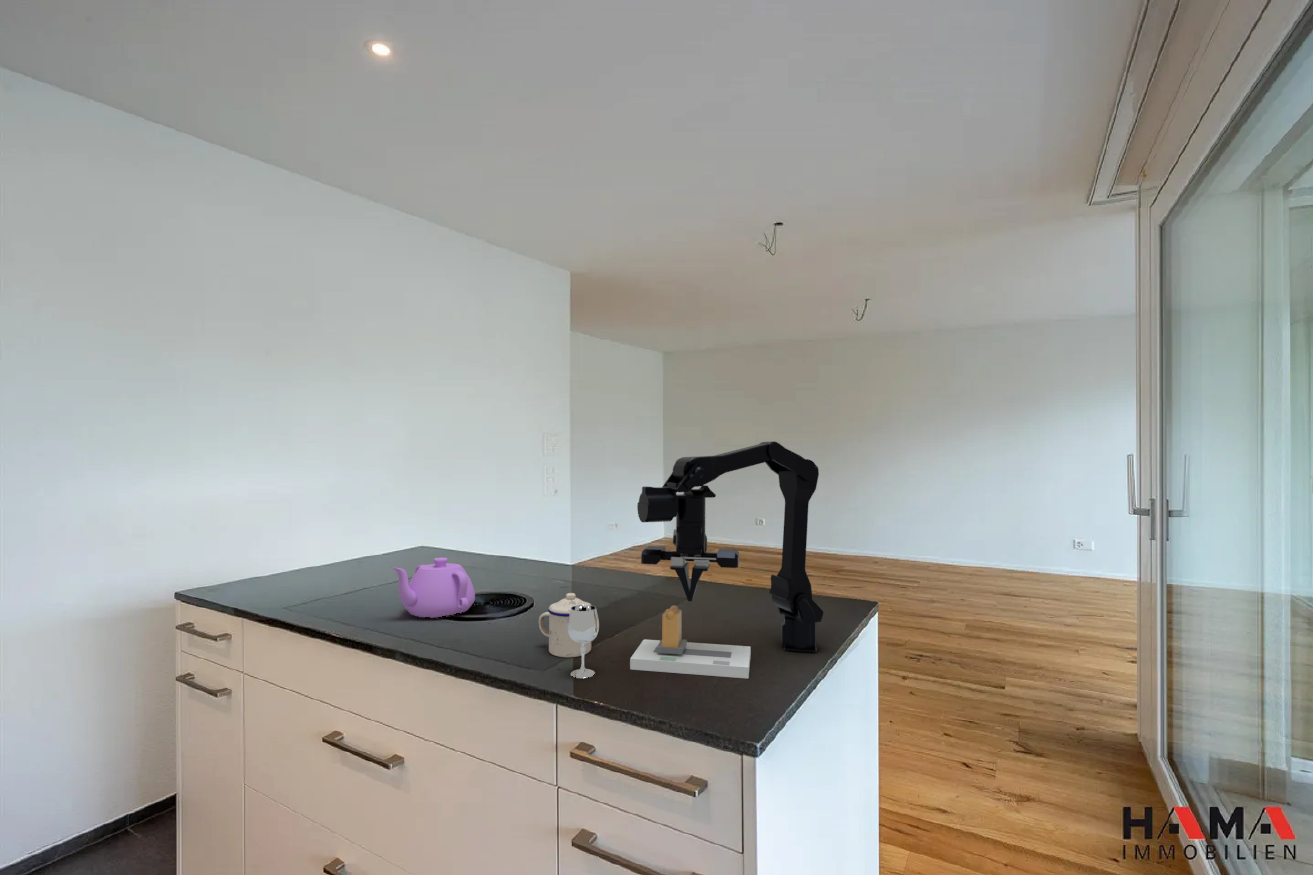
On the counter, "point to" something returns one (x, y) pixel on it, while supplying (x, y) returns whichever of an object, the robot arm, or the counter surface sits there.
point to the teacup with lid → (562, 628)
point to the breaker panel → (694, 659)
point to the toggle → (672, 632)
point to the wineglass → (583, 632)
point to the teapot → (436, 589)
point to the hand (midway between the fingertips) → (690, 600)
